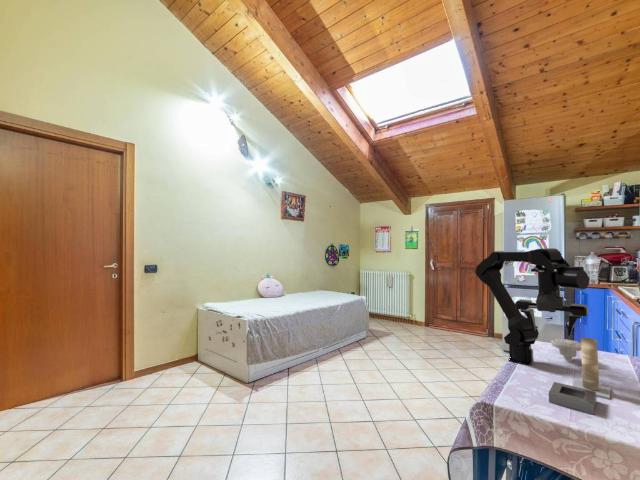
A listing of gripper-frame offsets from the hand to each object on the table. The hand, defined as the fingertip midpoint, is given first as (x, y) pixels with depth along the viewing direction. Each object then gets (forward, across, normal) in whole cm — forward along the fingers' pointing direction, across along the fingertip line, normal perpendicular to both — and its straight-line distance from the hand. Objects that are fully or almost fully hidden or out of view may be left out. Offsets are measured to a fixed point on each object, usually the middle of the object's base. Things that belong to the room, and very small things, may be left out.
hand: (551, 333), depth 100 cm
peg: (+13, +10, -7) cm, 17 cm away
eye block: (+13, +7, -19) cm, 24 cm away
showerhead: (+13, +2, +17) cm, 22 cm away
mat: (+13, +10, -7) cm, 18 cm away
